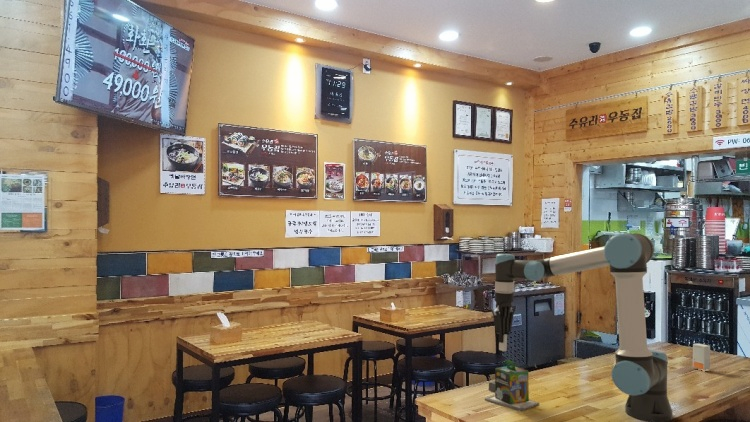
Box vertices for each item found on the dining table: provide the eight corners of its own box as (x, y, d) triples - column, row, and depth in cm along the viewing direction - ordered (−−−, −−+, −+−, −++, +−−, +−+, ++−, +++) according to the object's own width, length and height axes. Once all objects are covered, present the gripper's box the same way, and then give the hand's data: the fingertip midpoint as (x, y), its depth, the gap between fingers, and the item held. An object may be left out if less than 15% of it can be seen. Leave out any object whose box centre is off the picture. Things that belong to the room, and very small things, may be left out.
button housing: (517, 390, 223) (517, 383, 223) (505, 394, 218) (505, 387, 218) (500, 386, 229) (500, 378, 229) (488, 389, 224) (488, 382, 224)
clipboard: (540, 404, 206) (540, 401, 206) (521, 411, 198) (521, 408, 198) (503, 394, 219) (503, 391, 219) (484, 400, 211) (484, 396, 211)
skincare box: (692, 369, 263) (692, 343, 264) (698, 368, 265) (698, 343, 265) (704, 372, 258) (704, 346, 258) (710, 371, 260) (710, 345, 260)
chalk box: (529, 401, 207) (529, 362, 207) (509, 404, 203) (510, 364, 203) (513, 394, 215) (513, 356, 215) (494, 397, 211) (494, 358, 212)
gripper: (505, 289, 231) (504, 346, 231) (486, 292, 223) (485, 350, 222) (521, 292, 226) (519, 349, 226) (502, 294, 217) (500, 354, 217)
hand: (502, 350), depth 224 cm, fingers closed
